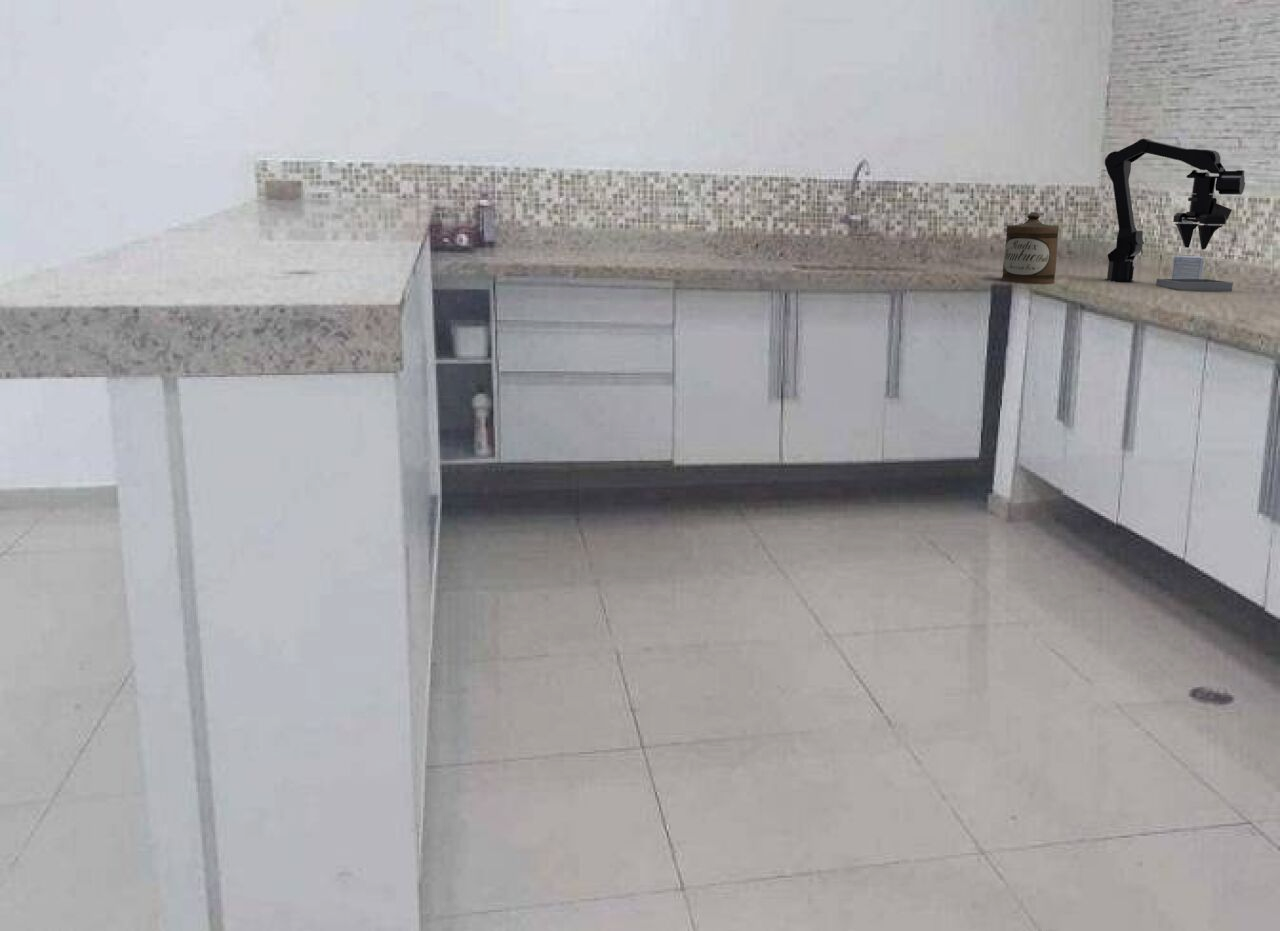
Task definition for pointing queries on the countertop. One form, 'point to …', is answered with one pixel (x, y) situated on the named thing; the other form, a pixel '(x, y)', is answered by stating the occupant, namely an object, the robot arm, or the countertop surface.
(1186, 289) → the tray
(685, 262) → the countertop surface
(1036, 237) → the wooden container
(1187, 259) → the medicine box
